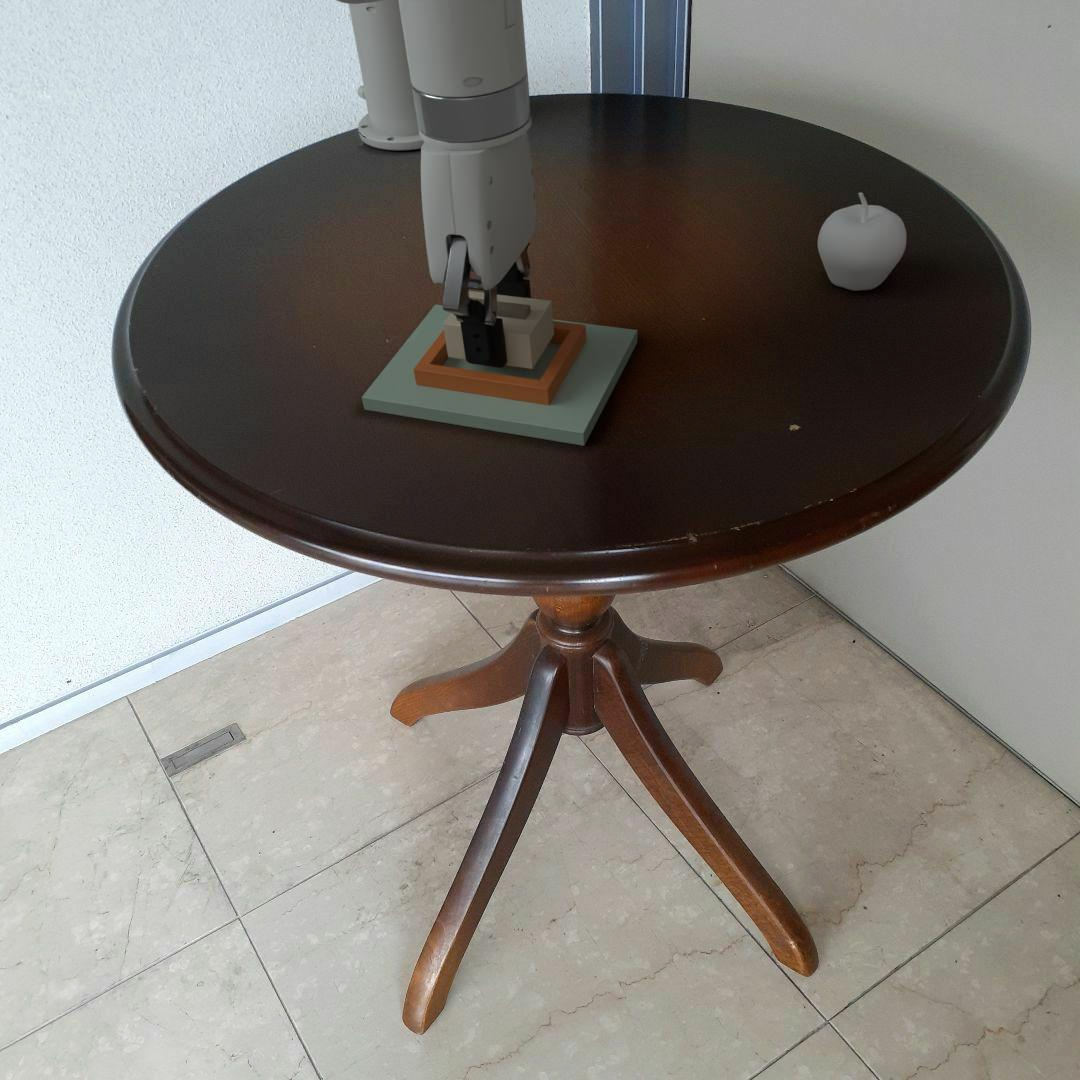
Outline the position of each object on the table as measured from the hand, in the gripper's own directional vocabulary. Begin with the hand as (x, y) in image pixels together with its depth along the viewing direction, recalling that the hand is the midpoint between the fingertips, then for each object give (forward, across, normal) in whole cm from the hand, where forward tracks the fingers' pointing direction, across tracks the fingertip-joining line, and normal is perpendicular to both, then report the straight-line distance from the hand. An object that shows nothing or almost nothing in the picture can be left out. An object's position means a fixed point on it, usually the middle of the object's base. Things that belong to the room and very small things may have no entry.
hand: (500, 341), depth 80 cm
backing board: (+3, 0, 0) cm, 3 cm away
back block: (0, 0, 0) cm, 0 cm away
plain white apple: (+3, -20, +24) cm, 32 cm away
